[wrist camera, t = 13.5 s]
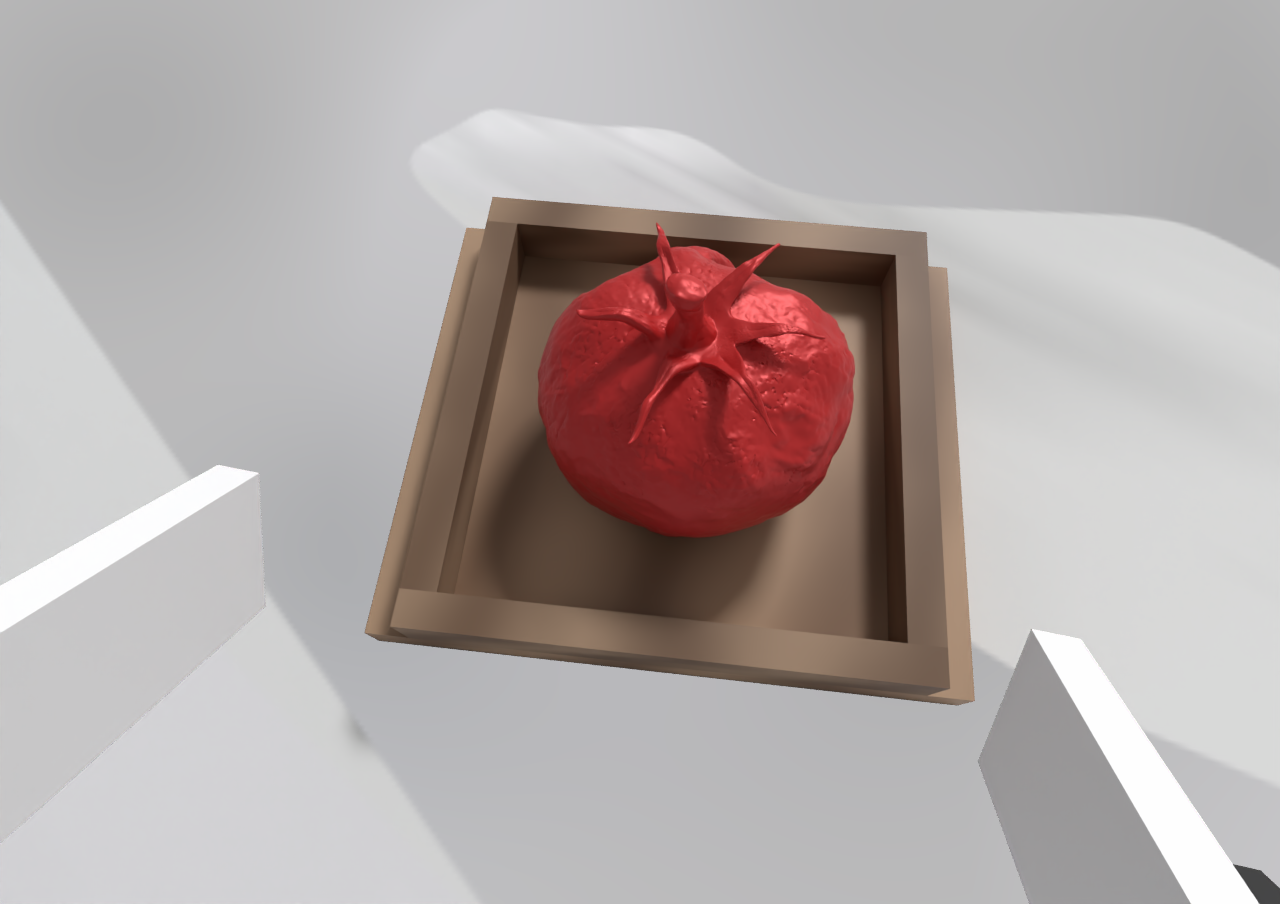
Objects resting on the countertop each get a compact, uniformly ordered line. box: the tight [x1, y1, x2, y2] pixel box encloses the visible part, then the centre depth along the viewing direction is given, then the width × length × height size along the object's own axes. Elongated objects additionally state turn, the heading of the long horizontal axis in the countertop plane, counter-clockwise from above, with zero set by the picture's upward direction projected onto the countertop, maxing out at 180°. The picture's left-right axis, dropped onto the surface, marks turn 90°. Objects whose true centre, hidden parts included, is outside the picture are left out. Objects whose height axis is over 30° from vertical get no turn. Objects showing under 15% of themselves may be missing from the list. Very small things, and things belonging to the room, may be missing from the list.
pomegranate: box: [538, 222, 855, 538], centre depth 24 cm, size 10×10×9 cm
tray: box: [365, 197, 975, 705], centre depth 28 cm, size 20×17×4 cm
